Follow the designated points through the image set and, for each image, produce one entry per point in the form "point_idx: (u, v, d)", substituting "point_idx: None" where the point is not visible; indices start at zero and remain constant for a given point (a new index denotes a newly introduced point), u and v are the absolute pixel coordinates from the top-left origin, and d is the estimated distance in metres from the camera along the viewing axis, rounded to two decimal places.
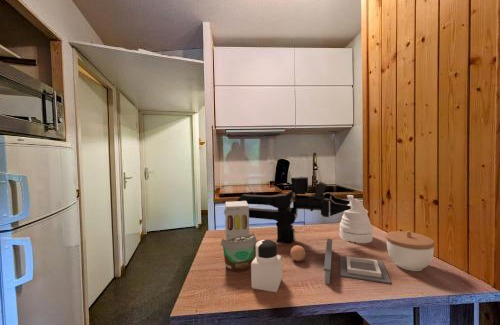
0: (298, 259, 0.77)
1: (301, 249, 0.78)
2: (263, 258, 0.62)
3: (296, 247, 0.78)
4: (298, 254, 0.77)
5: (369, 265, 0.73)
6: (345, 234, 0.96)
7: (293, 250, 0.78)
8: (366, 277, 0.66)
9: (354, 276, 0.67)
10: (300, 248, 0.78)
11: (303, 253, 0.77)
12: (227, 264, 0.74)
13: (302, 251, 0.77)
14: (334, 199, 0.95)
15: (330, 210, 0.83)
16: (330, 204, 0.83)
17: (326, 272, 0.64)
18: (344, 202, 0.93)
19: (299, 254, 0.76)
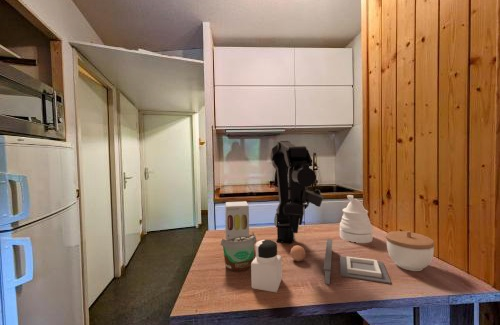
0: (298, 259, 0.77)
1: (301, 249, 0.78)
2: (263, 258, 0.62)
3: (296, 247, 0.78)
4: (298, 254, 0.77)
5: (369, 265, 0.73)
6: (345, 234, 0.96)
7: (293, 250, 0.78)
8: (366, 277, 0.66)
9: (354, 276, 0.67)
10: (300, 248, 0.78)
11: (303, 253, 0.77)
12: (227, 264, 0.74)
13: (302, 251, 0.77)
14: None
15: (290, 214, 0.71)
16: (298, 214, 0.70)
17: (326, 272, 0.64)
18: (299, 219, 0.83)
19: (299, 254, 0.76)
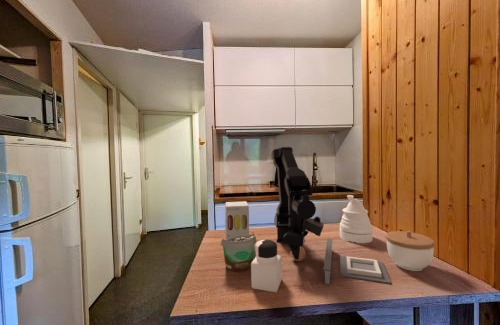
0: (298, 259, 0.77)
1: (301, 249, 0.78)
2: (263, 258, 0.62)
3: None
4: None
5: (369, 265, 0.73)
6: (345, 234, 0.96)
7: None
8: (366, 277, 0.66)
9: (354, 276, 0.67)
10: (300, 248, 0.78)
11: (303, 253, 0.77)
12: (227, 264, 0.74)
13: (302, 251, 0.77)
14: None
15: None
16: None
17: (326, 272, 0.64)
18: None
19: (299, 254, 0.76)
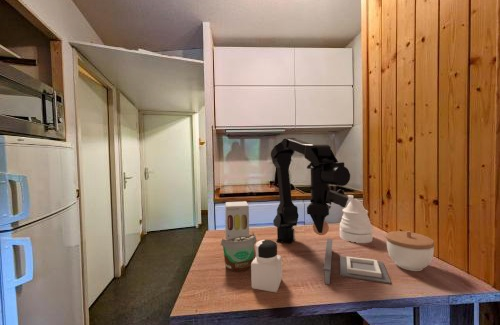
0: (321, 233, 0.74)
1: (324, 222, 0.74)
2: (263, 258, 0.62)
3: None
4: None
5: (369, 265, 0.73)
6: (345, 234, 0.96)
7: None
8: (366, 277, 0.66)
9: (354, 276, 0.67)
10: None
11: (327, 226, 0.74)
12: (227, 264, 0.74)
13: (325, 224, 0.74)
14: None
15: None
16: None
17: (326, 272, 0.64)
18: None
19: (323, 227, 0.73)
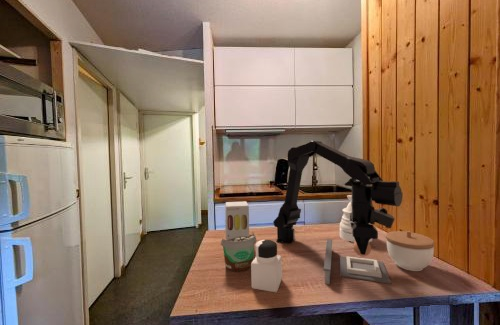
0: None
1: None
2: (263, 258, 0.62)
3: None
4: None
5: (369, 265, 0.73)
6: (345, 234, 0.96)
7: None
8: (366, 277, 0.66)
9: (354, 276, 0.67)
10: None
11: (369, 247, 0.70)
12: (227, 264, 0.74)
13: (368, 245, 0.70)
14: None
15: None
16: None
17: (326, 272, 0.64)
18: None
19: None
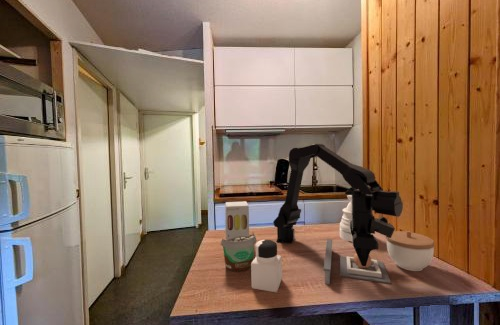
0: (364, 266, 0.70)
1: None
2: (263, 258, 0.62)
3: None
4: None
5: None
6: (345, 234, 0.96)
7: None
8: (366, 277, 0.66)
9: (354, 276, 0.67)
10: None
11: (370, 260, 0.70)
12: (227, 264, 0.74)
13: (369, 258, 0.70)
14: None
15: None
16: None
17: (326, 272, 0.64)
18: None
19: None
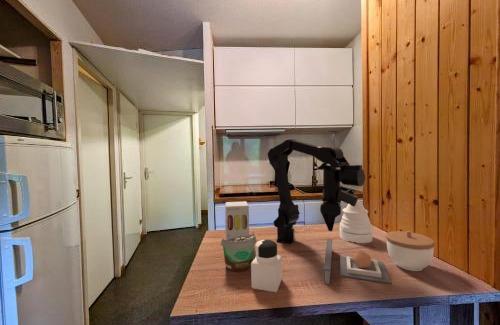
0: (364, 267, 0.70)
1: (367, 256, 0.70)
2: (263, 258, 0.62)
3: (361, 253, 0.71)
4: (365, 261, 0.69)
5: None
6: (345, 234, 0.96)
7: (358, 257, 0.71)
8: (366, 277, 0.66)
9: (354, 276, 0.67)
10: (366, 254, 0.71)
11: (370, 260, 0.70)
12: (227, 264, 0.74)
13: (369, 258, 0.70)
14: None
15: (327, 213, 0.74)
16: (335, 214, 0.73)
17: (326, 272, 0.64)
18: None
19: (366, 261, 0.69)
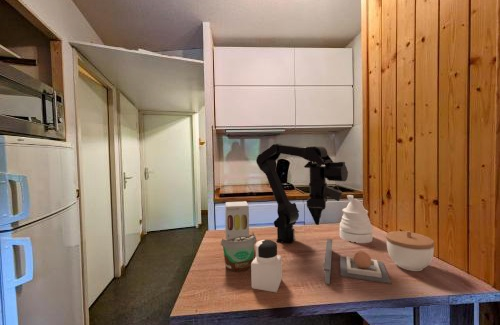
0: (364, 267, 0.70)
1: (367, 256, 0.70)
2: (263, 258, 0.62)
3: (361, 254, 0.71)
4: (365, 261, 0.69)
5: None
6: (345, 234, 0.96)
7: (358, 257, 0.71)
8: (366, 277, 0.66)
9: (354, 276, 0.67)
10: (366, 255, 0.70)
11: (370, 260, 0.70)
12: (227, 264, 0.74)
13: (369, 258, 0.70)
14: None
15: (313, 207, 0.79)
16: (320, 208, 0.79)
17: (326, 272, 0.64)
18: None
19: (366, 262, 0.69)
